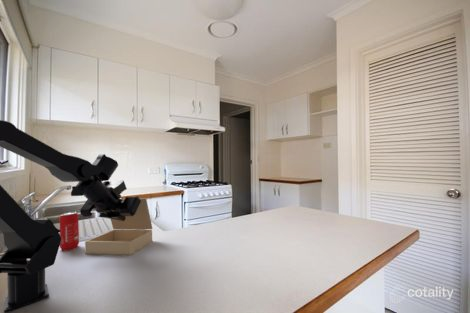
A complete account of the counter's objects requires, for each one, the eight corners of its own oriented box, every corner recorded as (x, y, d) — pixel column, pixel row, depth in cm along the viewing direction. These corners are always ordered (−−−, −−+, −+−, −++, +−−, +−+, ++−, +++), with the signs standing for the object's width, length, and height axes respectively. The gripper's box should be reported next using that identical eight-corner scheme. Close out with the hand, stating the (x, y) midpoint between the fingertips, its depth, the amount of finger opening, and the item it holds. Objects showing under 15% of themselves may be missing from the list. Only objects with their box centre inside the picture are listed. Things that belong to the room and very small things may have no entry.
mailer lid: (145, 198, 74) (146, 198, 74) (105, 199, 77) (106, 199, 77) (151, 229, 77) (152, 228, 77) (113, 229, 80) (114, 228, 80)
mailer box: (130, 255, 65) (129, 242, 65) (85, 254, 68) (85, 241, 68) (152, 241, 76) (152, 229, 77) (113, 240, 79) (113, 229, 80)
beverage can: (68, 251, 71) (67, 215, 71) (56, 251, 72) (55, 215, 72) (82, 245, 76) (81, 211, 76) (70, 245, 77) (70, 211, 77)
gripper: (136, 171, 68) (156, 199, 78) (86, 174, 71) (112, 201, 82) (119, 200, 60) (144, 227, 70) (64, 202, 63) (96, 227, 74)
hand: (124, 219), depth 74 cm, fingers closed
